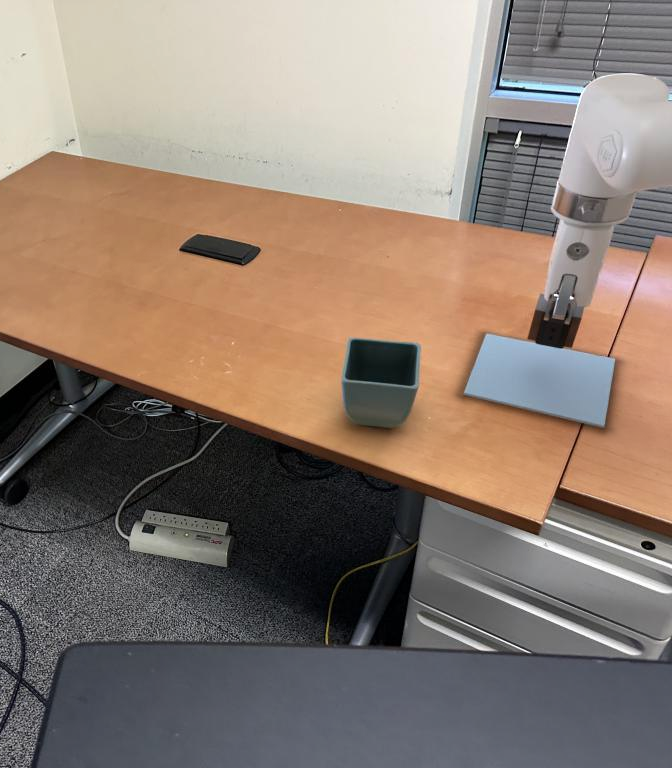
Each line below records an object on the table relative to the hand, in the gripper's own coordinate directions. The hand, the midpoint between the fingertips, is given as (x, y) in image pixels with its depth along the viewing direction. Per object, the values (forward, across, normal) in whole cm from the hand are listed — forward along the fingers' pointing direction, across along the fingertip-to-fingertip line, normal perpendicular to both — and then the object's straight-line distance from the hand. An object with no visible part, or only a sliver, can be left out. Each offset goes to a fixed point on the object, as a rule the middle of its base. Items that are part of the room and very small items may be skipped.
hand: (552, 333), depth 86 cm
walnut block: (0, 0, 0) cm, 0 cm away
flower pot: (+7, -15, +17) cm, 24 cm away
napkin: (+7, 0, 0) cm, 7 cm away
